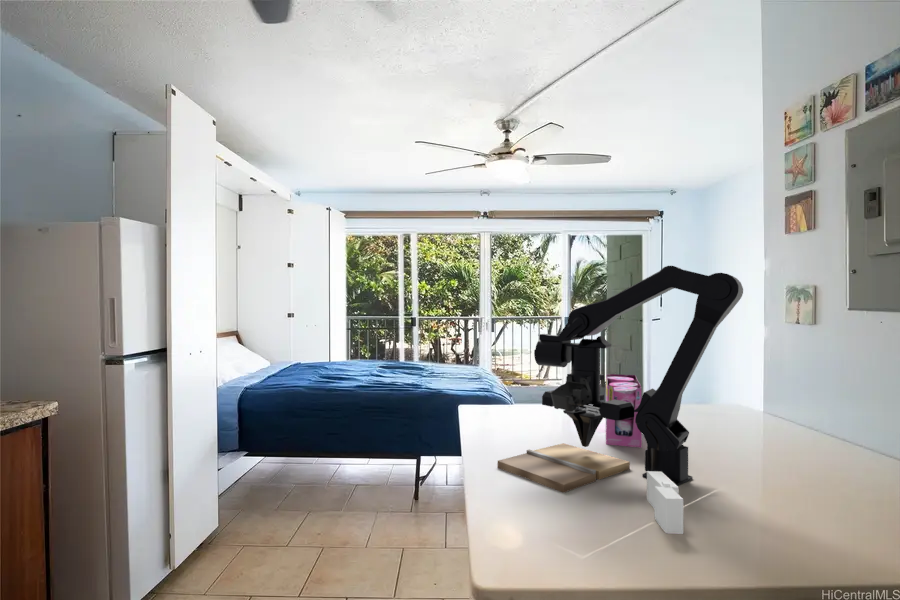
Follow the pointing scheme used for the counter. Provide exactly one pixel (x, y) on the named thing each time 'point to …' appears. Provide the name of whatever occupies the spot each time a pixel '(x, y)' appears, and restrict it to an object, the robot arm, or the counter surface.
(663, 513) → the napkin holder
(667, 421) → the robot arm
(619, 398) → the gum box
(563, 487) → the walnut board
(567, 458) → the oak plank
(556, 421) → the counter surface
